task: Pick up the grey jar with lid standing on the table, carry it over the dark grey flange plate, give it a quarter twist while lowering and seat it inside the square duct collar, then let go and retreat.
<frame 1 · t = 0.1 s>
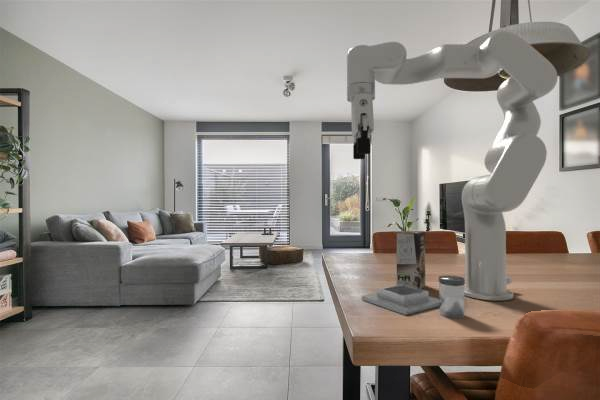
hand: (361, 156, 91), 37 cm above the table, tool pointing down, fingers open, 9 cm apart
coffee box: (411, 288, 98), on the table
grey jar with lid: (451, 314, 73), on the table
duct collar: (402, 302, 83), on the table
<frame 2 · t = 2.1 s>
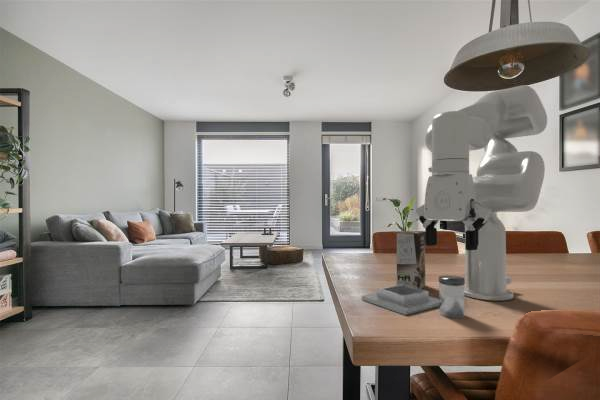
hand: (450, 247, 73), 15 cm above the table, tool pointing down, fingers open, 9 cm apart
nothing on the table moved.
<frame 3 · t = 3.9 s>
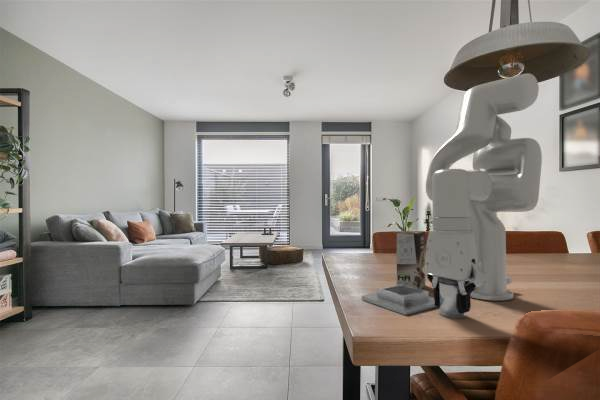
hand: (451, 307, 73), 1 cm above the table, tool pointing down, fingers closed on grey jar with lid, 5 cm apart
grey jar with lid: (451, 314, 73), on the table, touching gripper
everything else where it was.
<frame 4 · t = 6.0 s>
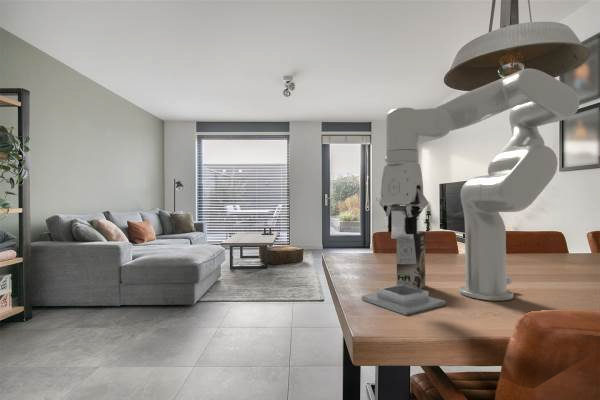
hand: (402, 232, 83), 17 cm above the table, tool pointing down, fingers closed on grey jar with lid, 5 cm apart
grey jar with lid: (401, 238, 82), point 16 cm above the table, touching gripper
everything else where it was.
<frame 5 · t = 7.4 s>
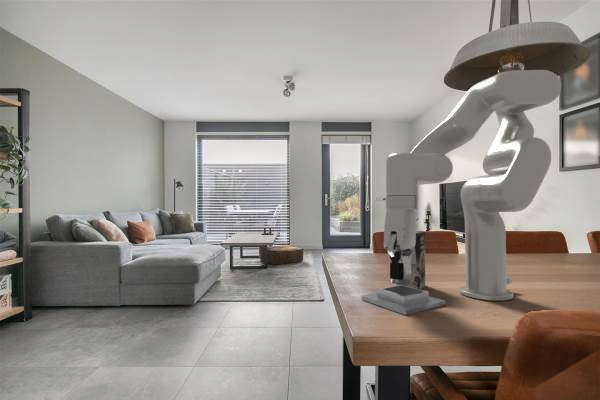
hand: (401, 276, 83), 6 cm above the table, tool pointing down, fingers closed on grey jar with lid, 5 cm apart
grey jar with lid: (400, 282, 83), point 5 cm above the table, touching gripper
everything else where it was.
when the fingers open (4 cm above the table, at t = 8.3 s): grey jar with lid drops 1 cm, resting on duct collar.
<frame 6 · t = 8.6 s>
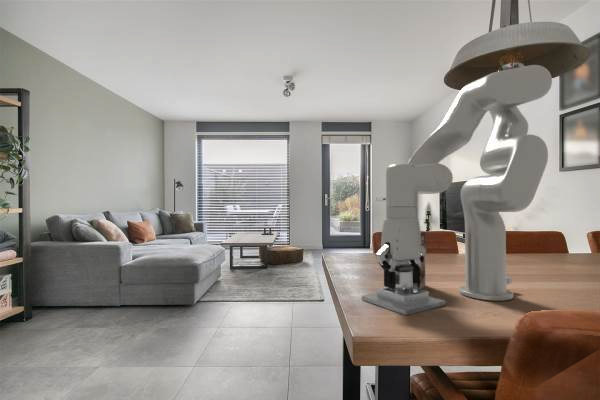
hand: (402, 284, 83), 4 cm above the table, tool pointing down, fingers open, 8 cm apart
grey jar with lid: (402, 298, 83), point 1 cm above the table, touching duct collar
everything else where it was.
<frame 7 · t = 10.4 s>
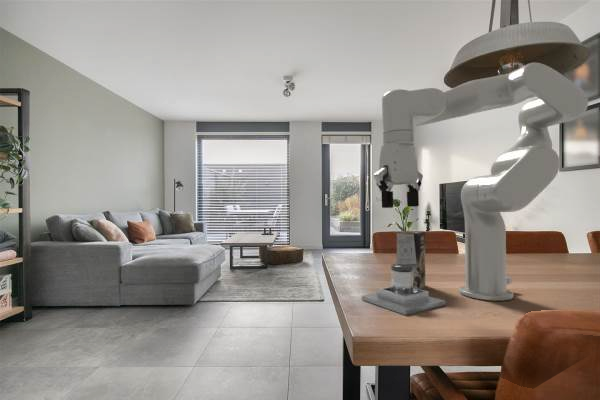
hand: (400, 207, 86), 23 cm above the table, tool pointing down, fingers open, 9 cm apart
nothing on the table moved.
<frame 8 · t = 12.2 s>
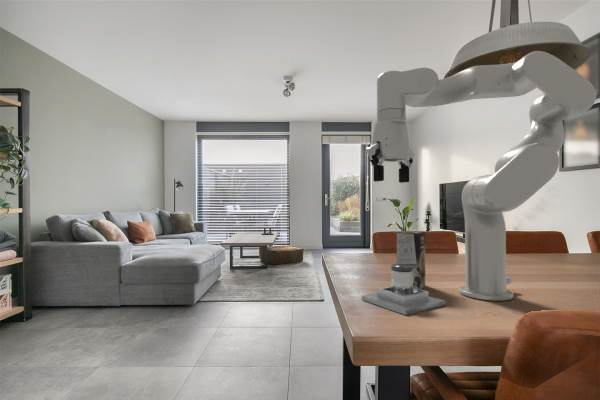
hand: (391, 181, 91), 30 cm above the table, tool pointing down, fingers open, 9 cm apart
nothing on the table moved.
at the end: grey jar with lid 0.1 cm off-centre on the duct collar, point 1.0 cm above the duct collar's base; grey jar with lid tilted 0°; the gripper is holding nothing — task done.
